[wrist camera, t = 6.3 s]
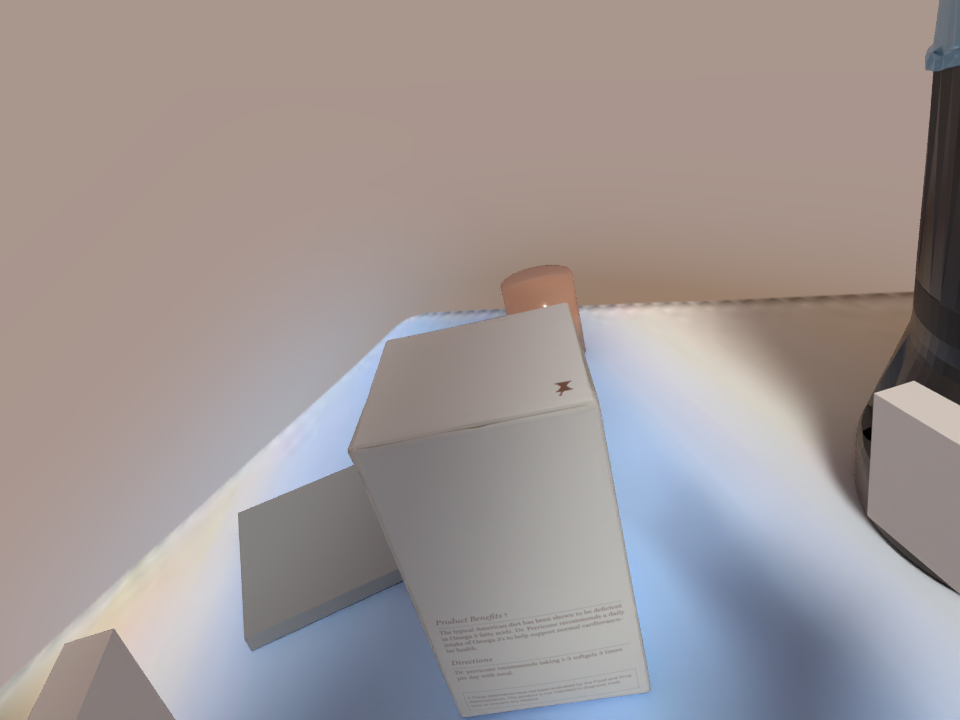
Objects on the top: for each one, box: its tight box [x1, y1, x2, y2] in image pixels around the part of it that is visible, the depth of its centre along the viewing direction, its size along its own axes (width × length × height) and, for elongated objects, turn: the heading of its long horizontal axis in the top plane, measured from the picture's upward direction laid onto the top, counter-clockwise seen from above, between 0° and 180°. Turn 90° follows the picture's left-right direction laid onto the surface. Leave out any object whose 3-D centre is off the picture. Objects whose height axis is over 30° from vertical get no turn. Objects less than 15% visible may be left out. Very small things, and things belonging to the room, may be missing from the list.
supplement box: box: [348, 303, 651, 717], centre depth 24 cm, size 7×7×13 cm
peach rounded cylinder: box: [501, 265, 586, 354], centre depth 46 cm, size 5×5×6 cm
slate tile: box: [238, 465, 403, 651], centre depth 34 cm, size 10×10×1 cm
